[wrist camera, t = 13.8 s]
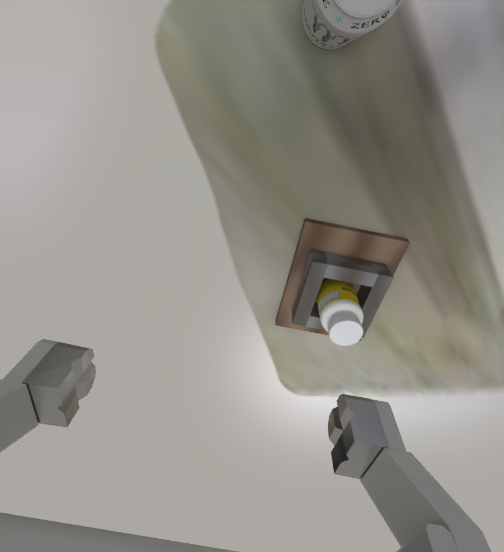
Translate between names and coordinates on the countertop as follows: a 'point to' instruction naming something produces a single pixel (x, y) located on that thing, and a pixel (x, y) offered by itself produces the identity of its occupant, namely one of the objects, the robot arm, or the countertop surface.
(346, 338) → the supplement bottle
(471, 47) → the countertop surface
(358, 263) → the socket block
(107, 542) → the robot arm
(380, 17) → the energy drink can
